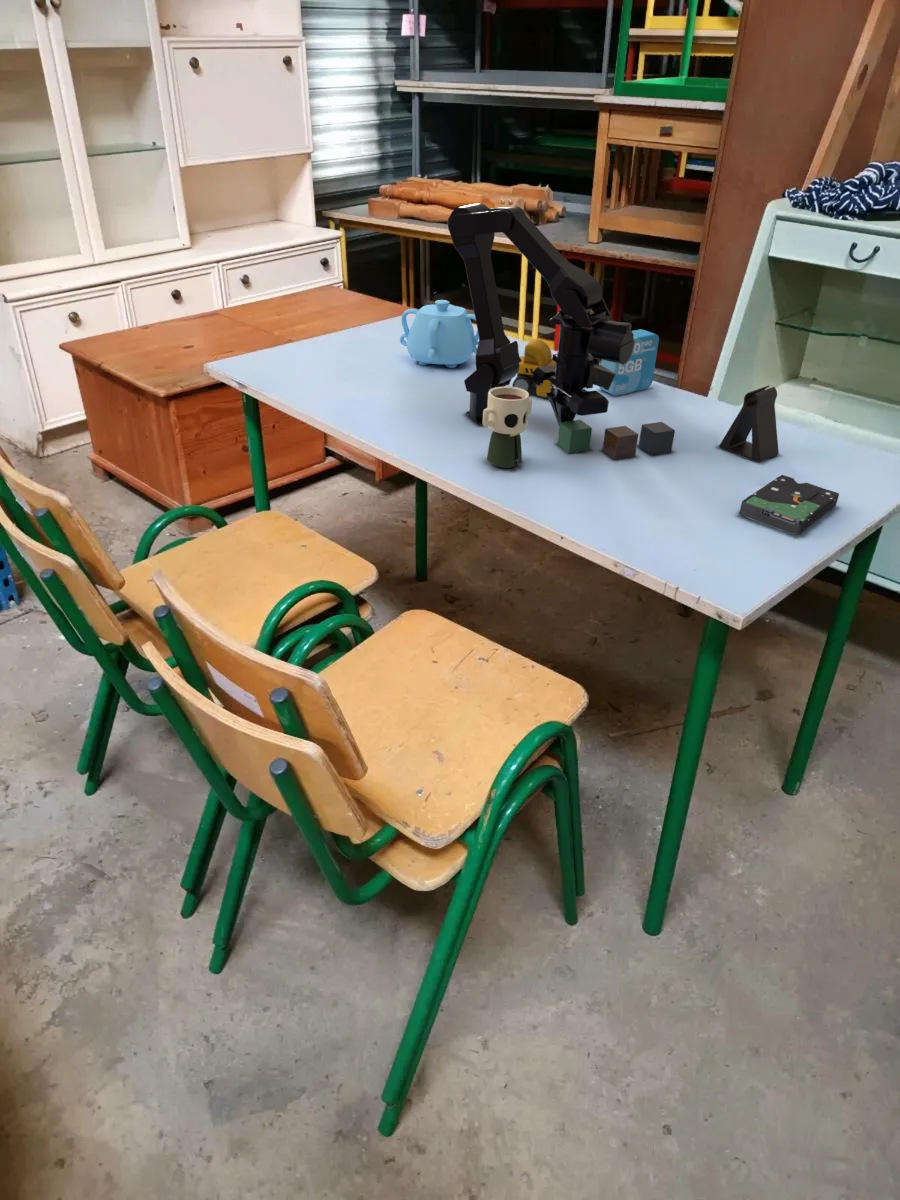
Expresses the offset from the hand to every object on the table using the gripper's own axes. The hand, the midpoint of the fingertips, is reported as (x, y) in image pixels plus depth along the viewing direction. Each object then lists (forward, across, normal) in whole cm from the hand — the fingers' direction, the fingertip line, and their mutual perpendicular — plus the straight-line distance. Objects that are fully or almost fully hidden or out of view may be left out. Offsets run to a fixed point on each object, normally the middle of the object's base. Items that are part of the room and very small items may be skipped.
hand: (564, 432), depth 166 cm
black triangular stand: (+1, -17, -30) cm, 35 cm away
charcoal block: (+1, -10, -14) cm, 17 cm away
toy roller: (+2, +25, -9) cm, 26 cm away
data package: (+2, +20, -27) cm, 34 cm away
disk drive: (+1, -39, -20) cm, 44 cm away
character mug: (+1, -6, +16) cm, 17 cm away
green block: (+1, -4, 0) cm, 4 cm away
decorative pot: (+3, +52, +4) cm, 52 cm away
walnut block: (+1, -9, -6) cm, 11 cm away
